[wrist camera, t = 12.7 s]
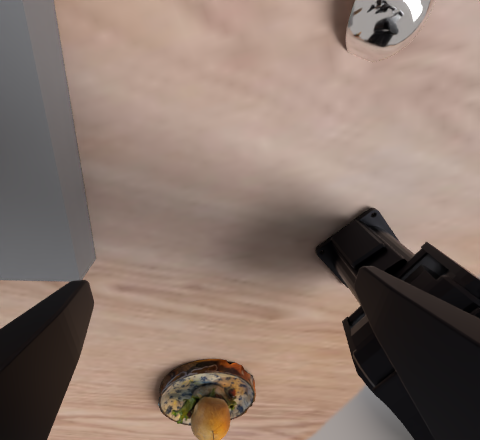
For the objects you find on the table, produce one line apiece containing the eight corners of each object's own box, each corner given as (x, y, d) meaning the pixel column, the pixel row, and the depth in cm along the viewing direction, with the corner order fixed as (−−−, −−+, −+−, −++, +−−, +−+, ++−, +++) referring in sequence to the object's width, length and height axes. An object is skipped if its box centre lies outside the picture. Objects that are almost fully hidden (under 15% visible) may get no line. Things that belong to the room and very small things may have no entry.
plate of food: (143, 398, 33) (126, 477, 26) (193, 344, 29) (189, 420, 22) (220, 419, 37) (222, 492, 30) (272, 375, 33) (288, 446, 27)
